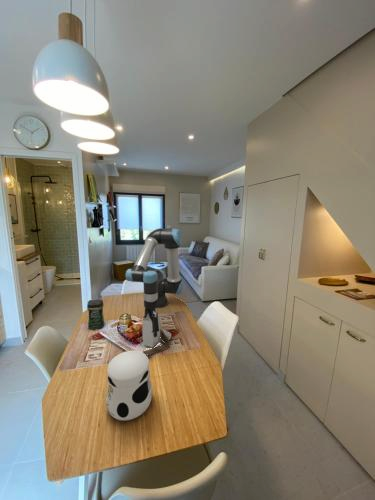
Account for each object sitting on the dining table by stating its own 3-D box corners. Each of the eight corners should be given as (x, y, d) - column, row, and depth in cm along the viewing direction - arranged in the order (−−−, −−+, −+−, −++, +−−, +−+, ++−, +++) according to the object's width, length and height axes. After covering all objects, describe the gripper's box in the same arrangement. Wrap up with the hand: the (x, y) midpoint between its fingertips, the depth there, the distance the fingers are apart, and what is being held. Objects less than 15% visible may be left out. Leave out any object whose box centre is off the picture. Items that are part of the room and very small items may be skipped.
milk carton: (142, 344, 115) (141, 313, 112) (150, 337, 121) (149, 308, 118) (152, 348, 112) (152, 316, 108) (160, 341, 118) (160, 310, 115)
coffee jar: (87, 330, 130) (85, 303, 127) (90, 324, 138) (88, 298, 134) (103, 329, 132) (101, 302, 129) (105, 322, 140) (104, 297, 137)
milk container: (99, 403, 81) (96, 362, 78) (138, 379, 93) (136, 343, 90) (120, 437, 69) (117, 391, 65) (161, 404, 81) (160, 364, 77)
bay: (160, 335, 127) (159, 327, 126) (169, 347, 115) (169, 339, 114) (136, 342, 119) (135, 334, 118) (143, 356, 107) (143, 348, 106)
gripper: (138, 293, 119) (139, 328, 123) (151, 309, 100) (152, 349, 104) (150, 291, 123) (151, 325, 127) (165, 305, 104) (165, 345, 108)
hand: (151, 336), depth 116 cm, fingers closed on milk carton, 10 cm apart
